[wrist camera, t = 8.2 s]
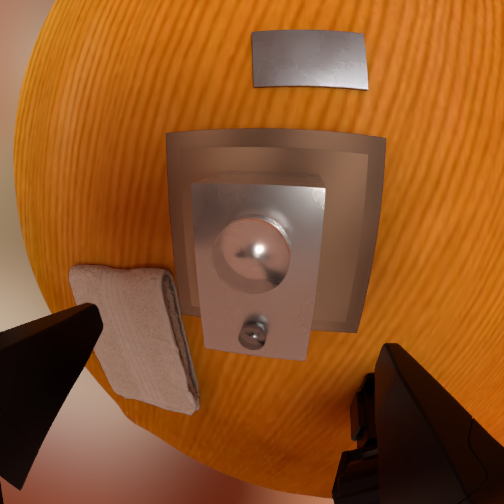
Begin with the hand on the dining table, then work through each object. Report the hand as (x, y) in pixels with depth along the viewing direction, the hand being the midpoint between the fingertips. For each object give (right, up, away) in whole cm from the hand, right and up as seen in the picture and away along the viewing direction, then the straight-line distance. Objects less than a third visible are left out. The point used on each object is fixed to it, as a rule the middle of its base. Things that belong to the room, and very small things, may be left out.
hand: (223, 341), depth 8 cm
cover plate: (+5, +15, +7) cm, 17 cm away
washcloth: (-10, -6, +19) cm, 22 cm away
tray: (+2, +4, +11) cm, 12 cm away
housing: (+2, +3, +8) cm, 9 cm away
